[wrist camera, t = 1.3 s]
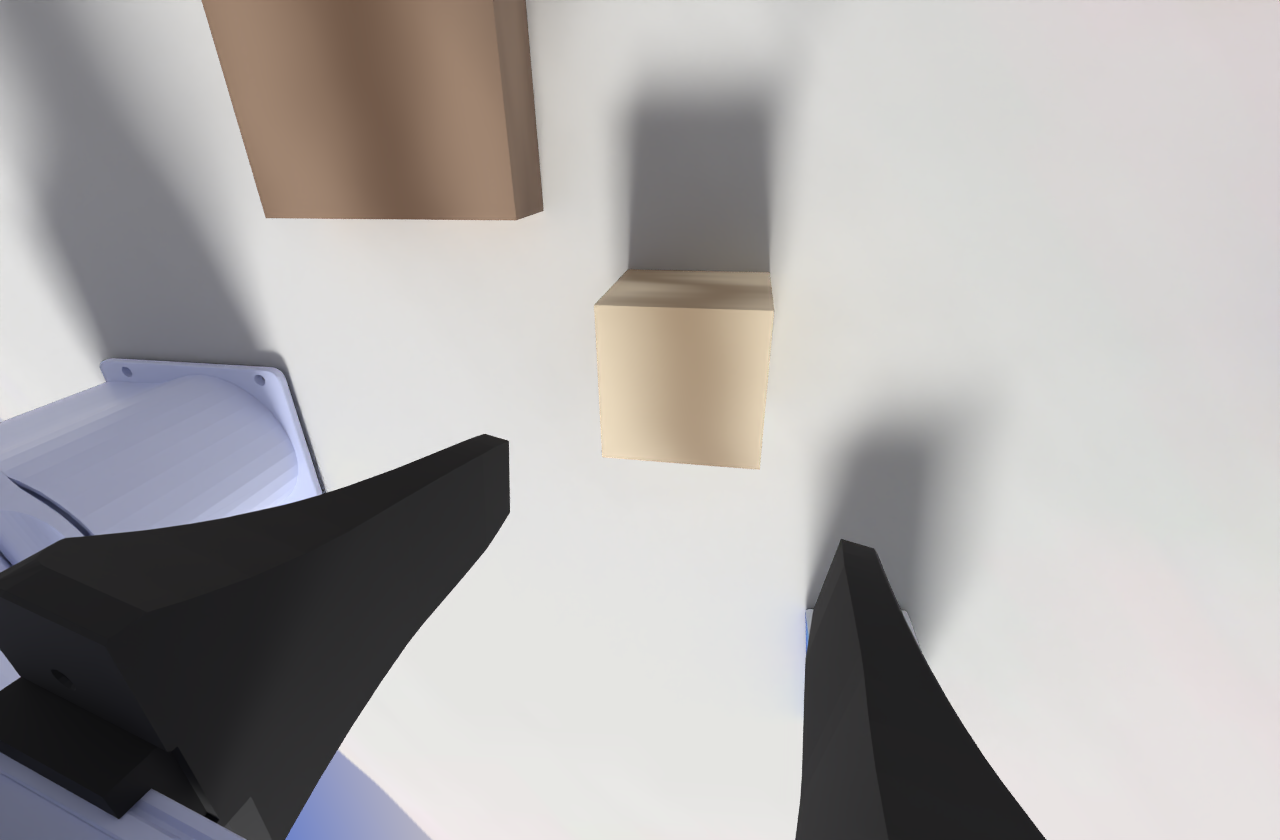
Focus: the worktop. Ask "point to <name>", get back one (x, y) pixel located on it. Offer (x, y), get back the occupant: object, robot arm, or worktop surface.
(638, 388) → the maple cube
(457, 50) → the walnut block
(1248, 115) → the worktop surface
